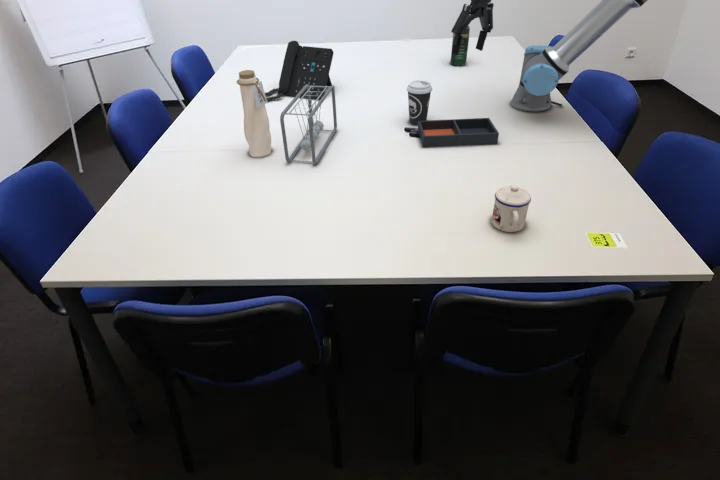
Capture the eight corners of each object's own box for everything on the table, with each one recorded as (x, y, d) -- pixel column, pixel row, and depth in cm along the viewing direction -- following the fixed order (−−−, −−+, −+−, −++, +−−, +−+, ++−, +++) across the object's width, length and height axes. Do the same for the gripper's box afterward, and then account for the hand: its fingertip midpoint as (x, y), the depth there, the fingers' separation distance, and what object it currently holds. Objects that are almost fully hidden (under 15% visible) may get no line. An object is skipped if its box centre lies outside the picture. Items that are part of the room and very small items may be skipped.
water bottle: (280, 148, 169) (269, 69, 152) (269, 159, 162) (255, 78, 145) (255, 145, 172) (241, 66, 155) (243, 156, 165) (227, 75, 148)
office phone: (248, 102, 206) (240, 54, 194) (281, 81, 227) (275, 36, 214) (308, 110, 197) (303, 60, 185) (336, 87, 217) (333, 41, 205)
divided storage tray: (487, 128, 177) (489, 117, 175) (497, 144, 167) (499, 133, 164) (417, 131, 177) (418, 120, 175) (422, 147, 166) (423, 136, 164)
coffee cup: (429, 127, 179) (431, 88, 170) (404, 126, 181) (405, 87, 172) (431, 117, 186) (433, 79, 177) (407, 116, 188) (408, 79, 179)
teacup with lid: (488, 213, 132) (494, 177, 125) (521, 214, 132) (529, 177, 125) (494, 239, 123) (501, 201, 116) (530, 240, 122) (539, 202, 115)
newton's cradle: (311, 128, 182) (306, 82, 171) (337, 129, 180) (334, 83, 170) (285, 165, 159) (278, 114, 148) (315, 167, 157) (310, 116, 146)
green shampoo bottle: (466, 66, 235) (470, 27, 224) (450, 66, 236) (453, 26, 225) (466, 60, 243) (470, 22, 232) (450, 60, 244) (453, 22, 233)
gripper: (497, -16, 170) (481, 44, 184) (450, -14, 157) (436, 51, 170) (513, -11, 166) (496, 51, 179) (467, -8, 153) (451, 58, 166)
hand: (467, 51), depth 175 cm, fingers open, 13 cm apart
